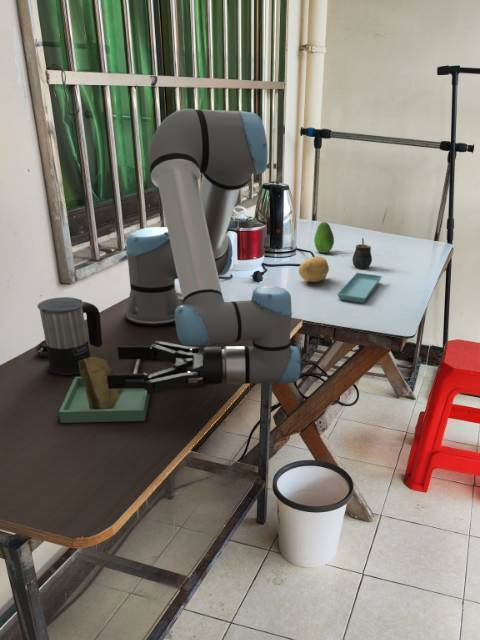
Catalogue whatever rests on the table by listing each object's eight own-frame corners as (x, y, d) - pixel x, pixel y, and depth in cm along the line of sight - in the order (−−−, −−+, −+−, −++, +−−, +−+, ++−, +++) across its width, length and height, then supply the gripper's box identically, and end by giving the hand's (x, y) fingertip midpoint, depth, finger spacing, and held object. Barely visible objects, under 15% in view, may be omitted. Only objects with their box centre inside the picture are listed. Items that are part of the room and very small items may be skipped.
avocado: (309, 251, 238) (311, 221, 233) (323, 249, 243) (325, 219, 237) (323, 256, 234) (325, 225, 228) (337, 253, 238) (339, 223, 232)
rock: (107, 372, 124) (65, 381, 117) (124, 347, 119) (80, 355, 111) (134, 413, 123) (92, 425, 115) (152, 390, 118) (109, 401, 110)
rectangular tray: (364, 304, 184) (365, 296, 182) (336, 300, 186) (337, 292, 184) (381, 283, 206) (382, 275, 204) (356, 279, 208) (356, 272, 206)
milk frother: (79, 378, 127) (68, 312, 120) (12, 369, 129) (-2, 304, 122) (110, 354, 140) (103, 293, 132) (49, 346, 142) (38, 285, 134)
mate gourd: (354, 270, 218) (357, 242, 213) (349, 264, 225) (351, 237, 220) (373, 270, 220) (376, 242, 215) (367, 264, 226) (369, 238, 221)
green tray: (76, 386, 124) (74, 376, 123) (151, 385, 127) (151, 375, 125) (60, 423, 111) (58, 411, 110) (144, 420, 113) (143, 409, 112)
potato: (333, 278, 207) (334, 255, 203) (320, 288, 196) (322, 264, 192) (307, 274, 210) (308, 251, 206) (293, 284, 198) (294, 260, 194)
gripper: (224, 411, 110) (105, 413, 106) (222, 357, 131) (123, 358, 128) (223, 374, 106) (100, 376, 103) (222, 325, 127) (120, 325, 124)
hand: (113, 366), depth 115 cm, fingers open, 13 cm apart
